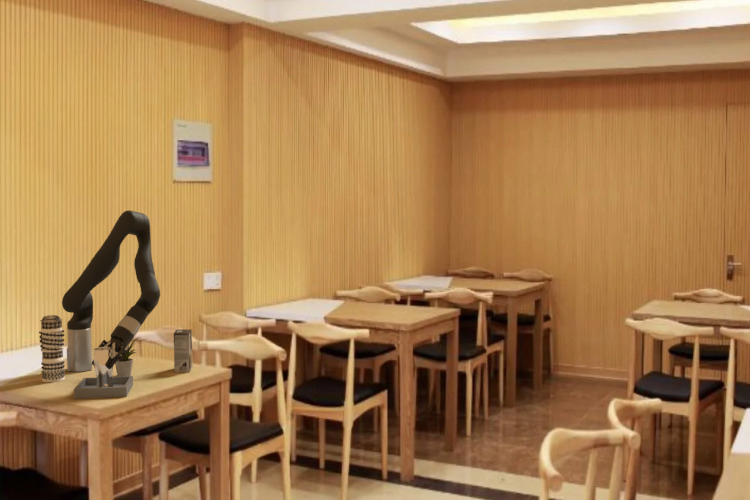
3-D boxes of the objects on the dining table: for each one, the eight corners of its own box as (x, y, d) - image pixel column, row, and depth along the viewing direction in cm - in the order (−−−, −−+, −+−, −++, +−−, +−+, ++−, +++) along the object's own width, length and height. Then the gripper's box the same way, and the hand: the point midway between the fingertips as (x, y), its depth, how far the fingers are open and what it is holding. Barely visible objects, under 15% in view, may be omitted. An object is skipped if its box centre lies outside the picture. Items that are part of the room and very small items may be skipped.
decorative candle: (63, 381, 327) (61, 317, 325) (38, 382, 326) (36, 318, 324) (68, 376, 336) (66, 314, 334) (43, 377, 335) (41, 314, 333)
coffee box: (177, 367, 352) (176, 329, 350) (192, 367, 352) (192, 329, 351) (173, 372, 342) (172, 333, 341) (190, 372, 343) (189, 332, 342)
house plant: (134, 369, 349) (132, 330, 348) (151, 374, 339) (150, 334, 338) (101, 374, 339) (100, 334, 338) (118, 380, 329) (117, 338, 328)
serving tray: (74, 398, 301) (73, 389, 300) (83, 387, 318) (83, 377, 318) (126, 396, 303) (126, 387, 303) (133, 385, 321) (132, 376, 321)
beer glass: (118, 387, 313) (116, 347, 312) (107, 391, 306) (105, 350, 305) (102, 386, 315) (101, 346, 314) (90, 390, 309) (88, 349, 307)
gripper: (107, 323, 319) (82, 358, 311) (132, 326, 311) (106, 362, 302) (120, 335, 324) (95, 370, 316) (144, 338, 316) (119, 374, 307)
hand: (100, 366), depth 309 cm, fingers open, 8 cm apart
